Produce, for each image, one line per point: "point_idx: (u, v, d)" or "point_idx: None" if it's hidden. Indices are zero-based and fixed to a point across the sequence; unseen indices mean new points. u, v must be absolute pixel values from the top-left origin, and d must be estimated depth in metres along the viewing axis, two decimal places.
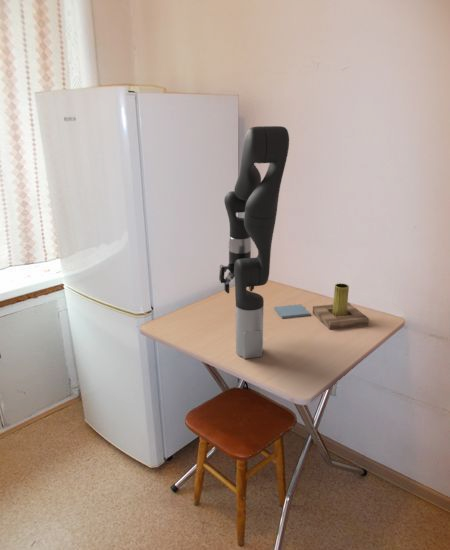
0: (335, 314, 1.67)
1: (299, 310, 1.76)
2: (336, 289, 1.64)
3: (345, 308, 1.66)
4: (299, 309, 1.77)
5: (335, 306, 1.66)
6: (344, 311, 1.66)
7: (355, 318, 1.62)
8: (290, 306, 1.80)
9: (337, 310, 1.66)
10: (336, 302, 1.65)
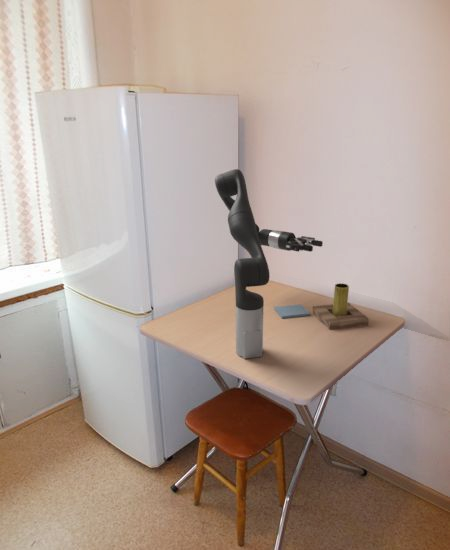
0: (335, 314, 1.67)
1: (299, 310, 1.76)
2: (336, 289, 1.64)
3: (345, 308, 1.66)
4: (299, 309, 1.77)
5: (335, 306, 1.66)
6: (344, 311, 1.66)
7: (355, 318, 1.62)
8: (290, 306, 1.80)
9: (338, 310, 1.66)
10: (336, 302, 1.65)
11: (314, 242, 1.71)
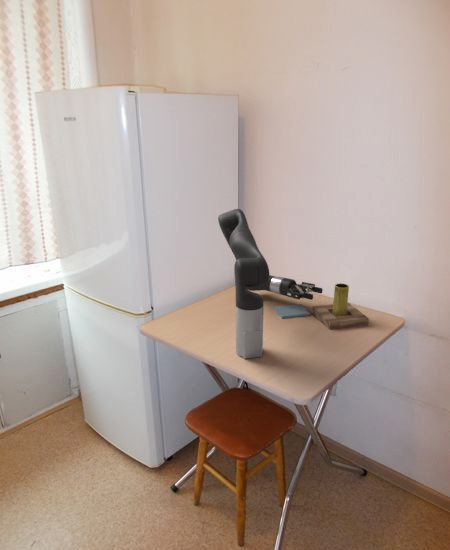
0: (335, 314, 1.67)
1: (299, 310, 1.76)
2: (336, 289, 1.64)
3: (345, 308, 1.66)
4: (299, 309, 1.77)
5: (335, 306, 1.66)
6: (344, 311, 1.66)
7: (355, 318, 1.62)
8: (290, 306, 1.80)
9: (337, 310, 1.66)
10: (336, 302, 1.65)
11: (314, 289, 1.77)
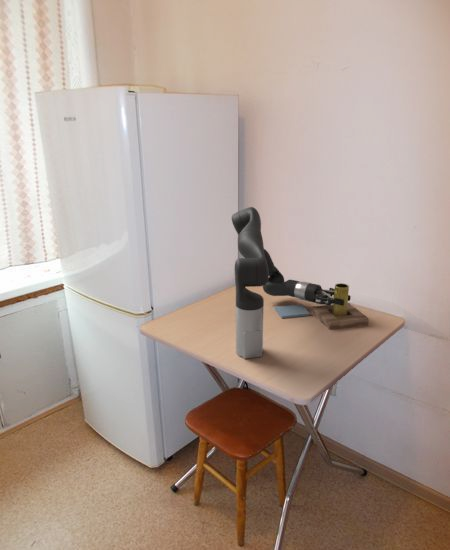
0: (335, 314, 1.67)
1: (299, 310, 1.76)
2: (336, 289, 1.64)
3: (345, 308, 1.66)
4: (299, 309, 1.77)
5: (335, 306, 1.66)
6: (344, 311, 1.66)
7: (355, 318, 1.62)
8: (290, 306, 1.80)
9: (338, 310, 1.66)
10: None
11: None
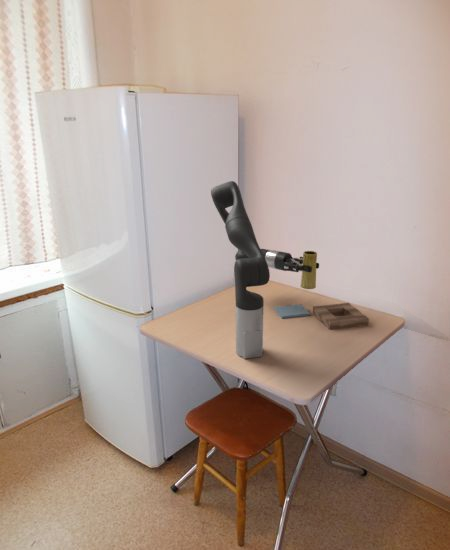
0: (303, 281, 1.68)
1: (299, 310, 1.76)
2: (304, 256, 1.65)
3: (313, 275, 1.66)
4: (299, 309, 1.77)
5: (303, 273, 1.67)
6: (312, 278, 1.66)
7: (355, 318, 1.62)
8: (290, 306, 1.80)
9: (306, 277, 1.66)
10: None
11: None
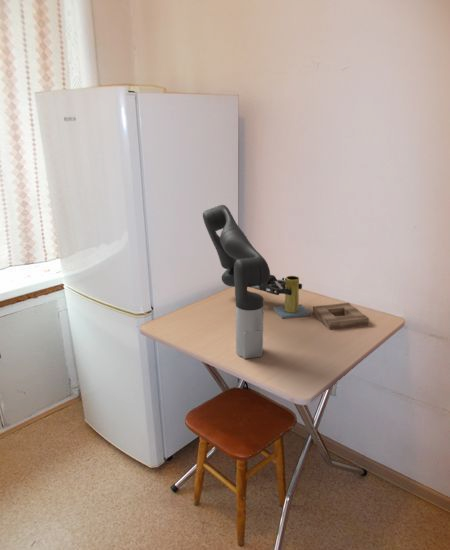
0: (287, 305, 1.74)
1: (299, 310, 1.76)
2: (287, 281, 1.71)
3: (296, 299, 1.72)
4: (299, 309, 1.77)
5: (286, 297, 1.73)
6: (295, 302, 1.72)
7: (355, 318, 1.62)
8: None
9: (289, 302, 1.72)
10: None
11: None
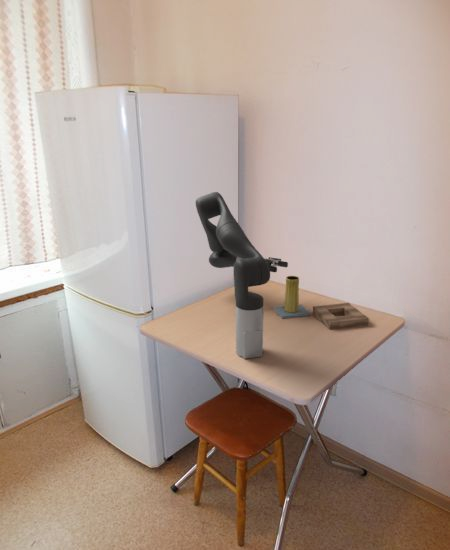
0: (287, 305, 1.74)
1: (299, 310, 1.76)
2: (287, 281, 1.71)
3: (296, 299, 1.72)
4: (299, 309, 1.77)
5: (286, 297, 1.73)
6: (295, 302, 1.72)
7: (355, 318, 1.62)
8: None
9: (289, 302, 1.72)
10: (287, 294, 1.72)
11: (280, 263, 1.77)
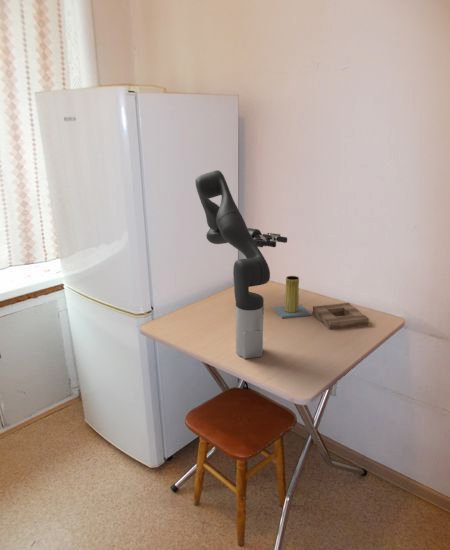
0: (287, 305, 1.74)
1: (299, 310, 1.76)
2: (287, 281, 1.71)
3: (296, 299, 1.72)
4: (299, 309, 1.77)
5: (286, 297, 1.73)
6: (295, 302, 1.72)
7: (355, 318, 1.62)
8: None
9: (289, 302, 1.72)
10: (287, 294, 1.72)
11: (279, 238, 1.72)
